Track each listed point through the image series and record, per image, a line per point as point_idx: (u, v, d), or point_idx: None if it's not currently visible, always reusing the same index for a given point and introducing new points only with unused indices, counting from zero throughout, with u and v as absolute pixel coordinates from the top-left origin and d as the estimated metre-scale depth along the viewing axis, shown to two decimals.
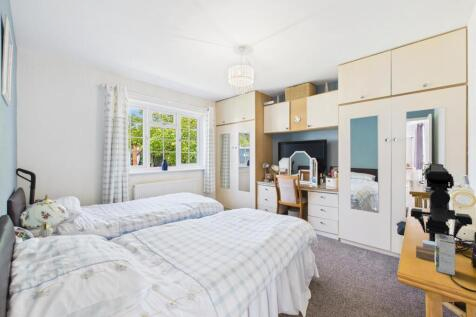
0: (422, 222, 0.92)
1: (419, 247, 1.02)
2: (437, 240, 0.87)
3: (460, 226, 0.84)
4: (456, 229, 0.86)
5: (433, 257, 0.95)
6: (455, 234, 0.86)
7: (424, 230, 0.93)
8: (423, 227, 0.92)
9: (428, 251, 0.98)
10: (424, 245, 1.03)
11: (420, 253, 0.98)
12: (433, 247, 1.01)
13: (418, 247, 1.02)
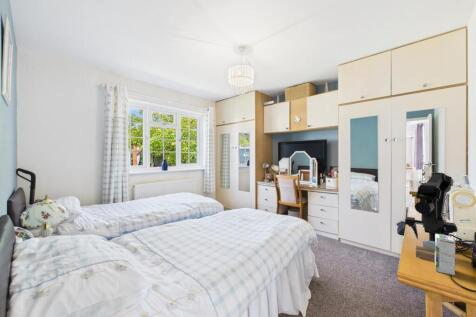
0: (415, 229, 1.06)
1: (419, 247, 1.02)
2: (437, 240, 0.87)
3: (447, 233, 0.98)
4: None
5: (433, 257, 0.95)
6: None
7: (417, 236, 1.06)
8: (416, 233, 1.06)
9: (428, 251, 0.98)
10: (424, 245, 1.03)
11: (420, 253, 0.98)
12: (433, 247, 1.01)
13: (418, 247, 1.02)
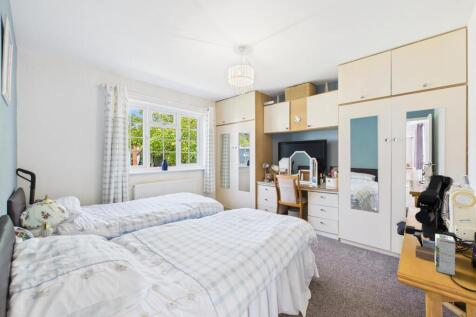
0: (420, 239, 1.04)
1: (419, 247, 1.02)
2: (437, 240, 0.87)
3: None
4: None
5: (432, 257, 0.95)
6: None
7: (422, 246, 1.05)
8: (421, 243, 1.05)
9: (428, 251, 0.98)
10: (424, 245, 1.03)
11: (420, 253, 0.98)
12: (433, 247, 1.01)
13: (418, 247, 1.02)
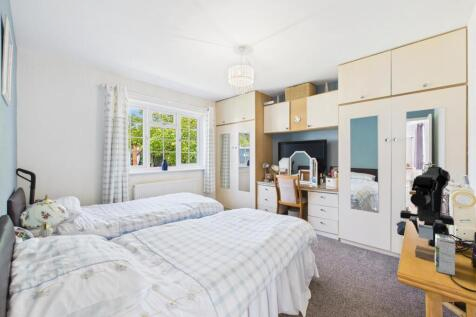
0: (415, 224, 1.00)
1: (419, 247, 1.02)
2: (437, 240, 0.87)
3: (438, 226, 0.95)
4: (434, 228, 0.96)
5: (432, 257, 0.95)
6: (434, 233, 0.97)
7: (417, 231, 1.01)
8: (416, 228, 1.01)
9: (428, 251, 0.98)
10: (420, 229, 0.99)
11: (419, 253, 0.98)
12: (429, 231, 0.96)
13: (418, 247, 1.02)
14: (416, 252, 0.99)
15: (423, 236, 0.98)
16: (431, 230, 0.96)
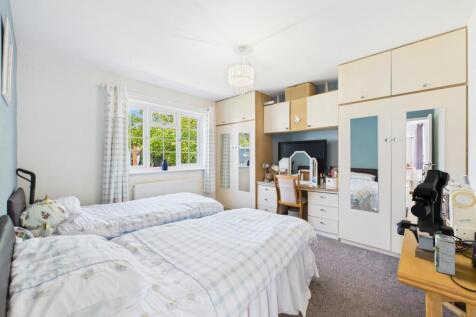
0: (416, 234, 1.00)
1: None
2: (437, 240, 0.87)
3: None
4: (434, 239, 0.96)
5: (432, 257, 0.95)
6: (434, 243, 0.97)
7: (417, 241, 1.01)
8: (417, 238, 1.01)
9: (428, 251, 0.98)
10: (420, 240, 0.99)
11: (419, 253, 0.99)
12: (429, 242, 0.97)
13: (418, 247, 1.02)
14: (416, 252, 0.99)
15: (423, 246, 0.98)
16: (431, 241, 0.96)
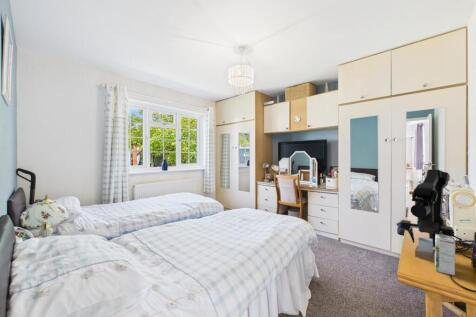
0: (411, 233, 1.02)
1: None
2: (437, 240, 0.87)
3: None
4: None
5: (432, 257, 0.95)
6: None
7: (413, 240, 1.02)
8: (412, 238, 1.02)
9: None
10: (420, 242, 0.99)
11: (419, 253, 0.99)
12: (429, 244, 0.97)
13: (418, 247, 1.02)
14: (416, 252, 0.99)
15: (423, 249, 0.98)
16: (431, 243, 0.96)
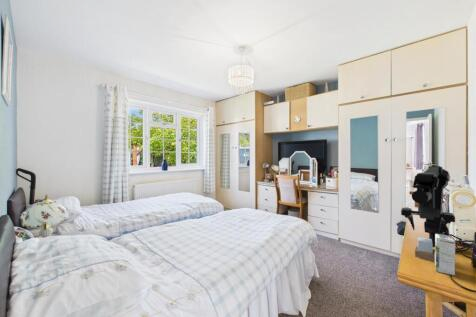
0: (411, 220, 1.01)
1: None
2: (437, 240, 0.87)
3: (445, 223, 0.93)
4: (441, 226, 0.95)
5: (432, 257, 0.95)
6: (440, 231, 0.95)
7: (413, 227, 1.02)
8: (412, 225, 1.02)
9: None
10: (419, 242, 0.99)
11: (419, 253, 0.99)
12: (429, 244, 0.97)
13: None
14: (416, 252, 0.99)
15: (423, 249, 0.98)
16: (431, 243, 0.96)
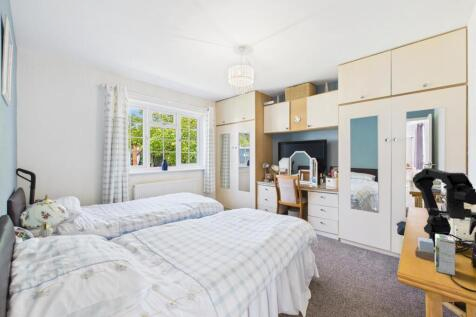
0: (439, 220, 0.99)
1: None
2: (437, 240, 0.87)
3: None
4: (472, 227, 0.93)
5: (432, 257, 0.95)
6: (471, 231, 0.93)
7: (441, 228, 1.00)
8: (440, 225, 1.00)
9: None
10: (421, 243, 0.98)
11: (419, 253, 0.99)
12: (430, 245, 0.96)
13: None
14: (416, 252, 0.99)
15: (424, 250, 0.98)
16: (432, 244, 0.96)
